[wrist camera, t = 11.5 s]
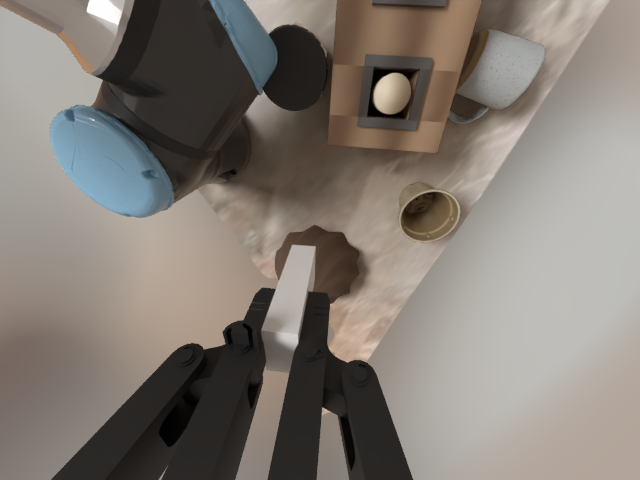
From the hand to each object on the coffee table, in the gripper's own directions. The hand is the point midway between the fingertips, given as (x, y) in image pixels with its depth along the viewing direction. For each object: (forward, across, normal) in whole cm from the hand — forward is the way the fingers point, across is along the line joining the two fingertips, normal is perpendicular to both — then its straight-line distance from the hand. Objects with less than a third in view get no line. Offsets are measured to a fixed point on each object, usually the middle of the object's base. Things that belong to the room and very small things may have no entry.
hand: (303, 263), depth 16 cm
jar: (+32, -6, +14) cm, 36 cm away
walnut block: (+33, +7, +15) cm, 37 cm away
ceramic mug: (+33, +21, +12) cm, 41 cm away
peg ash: (+31, +7, +10) cm, 33 cm away
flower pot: (+33, +17, -7) cm, 37 cm away
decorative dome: (+33, -2, -24) cm, 41 cm away
